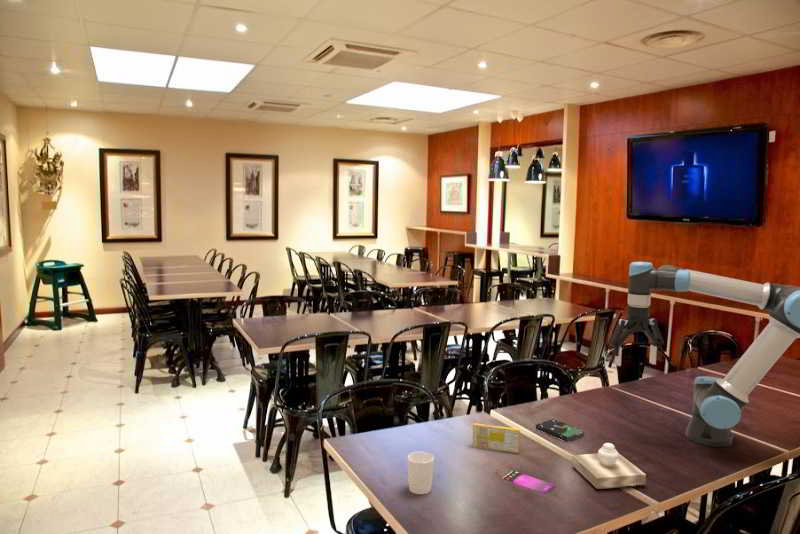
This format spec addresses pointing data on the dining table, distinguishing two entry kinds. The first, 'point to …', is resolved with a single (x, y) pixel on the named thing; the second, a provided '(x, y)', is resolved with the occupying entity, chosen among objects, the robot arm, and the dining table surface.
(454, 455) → the dining table surface
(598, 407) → the dining table surface
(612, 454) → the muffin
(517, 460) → the dining table surface
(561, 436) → the disk drive
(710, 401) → the robot arm
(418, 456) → the white cup
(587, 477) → the beige satin panel
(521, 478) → the smartphone
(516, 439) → the candy box
